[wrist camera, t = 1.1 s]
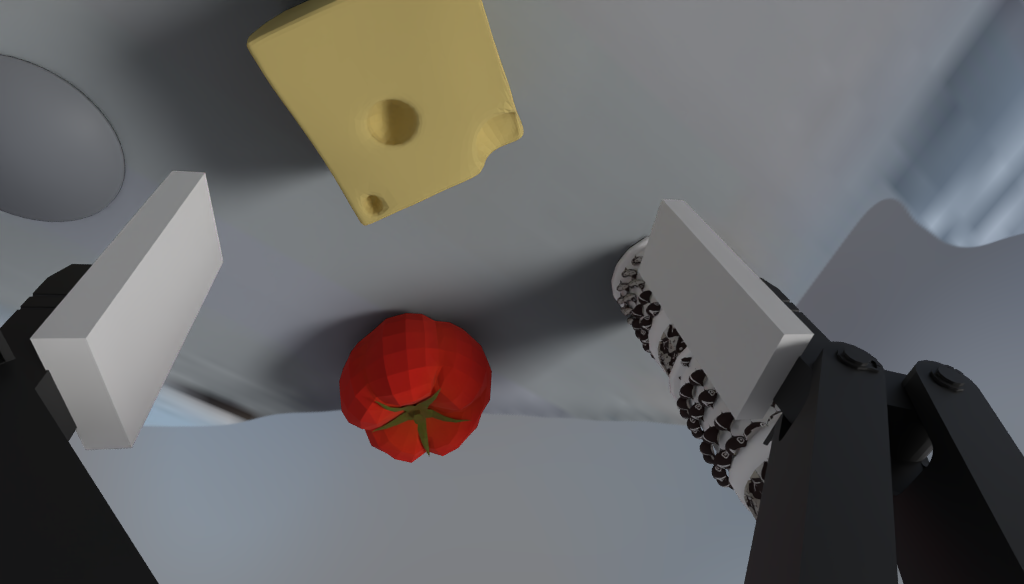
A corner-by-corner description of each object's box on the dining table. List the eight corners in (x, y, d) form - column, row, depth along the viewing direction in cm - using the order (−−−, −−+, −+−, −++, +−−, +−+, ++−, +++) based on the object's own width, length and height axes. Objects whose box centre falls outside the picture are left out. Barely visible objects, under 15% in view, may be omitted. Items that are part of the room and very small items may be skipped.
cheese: (508, 102, 35) (544, 156, 27) (363, 167, 36) (355, 239, 28) (442, -77, 29) (462, -75, 21) (267, 7, 29) (221, 39, 21)
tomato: (488, 379, 49) (505, 458, 42) (358, 402, 48) (352, 488, 40) (477, 286, 43) (495, 360, 36) (327, 309, 41) (314, 392, 34)
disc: (-122, 37, 27) (-126, 38, 27) (104, 68, 30) (103, 69, 29) (-47, 213, 32) (-50, 214, 32) (139, 226, 35) (138, 228, 35)
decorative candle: (637, 215, 42) (865, 487, 22) (727, 241, 45) (998, 499, 25) (588, 305, 46) (741, 601, 26) (674, 323, 49) (868, 599, 29)
